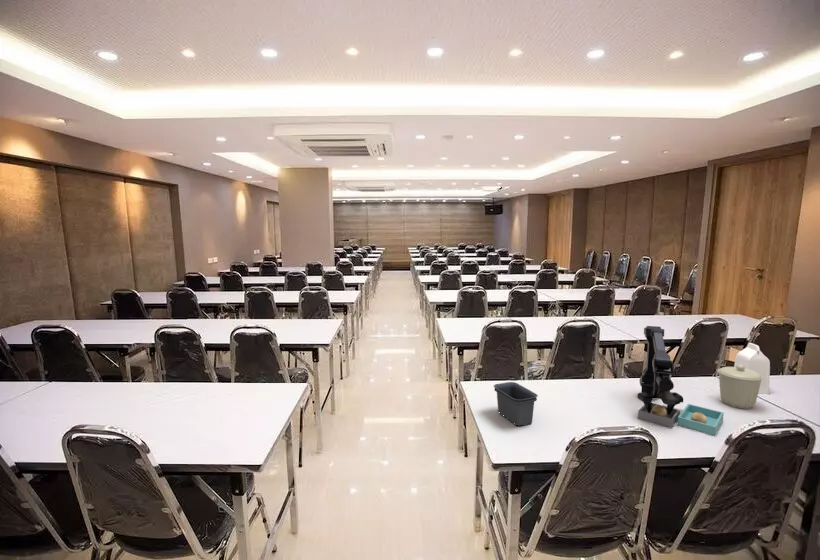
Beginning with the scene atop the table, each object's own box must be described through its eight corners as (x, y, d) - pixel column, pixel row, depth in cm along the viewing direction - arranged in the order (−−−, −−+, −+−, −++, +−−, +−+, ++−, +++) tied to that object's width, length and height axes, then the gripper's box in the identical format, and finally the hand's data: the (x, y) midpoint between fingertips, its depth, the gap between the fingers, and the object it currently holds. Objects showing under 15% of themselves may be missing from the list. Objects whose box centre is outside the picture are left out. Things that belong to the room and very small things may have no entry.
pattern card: (659, 409, 200) (659, 408, 200) (662, 405, 205) (662, 404, 205) (680, 415, 194) (680, 413, 194) (683, 411, 198) (683, 409, 198)
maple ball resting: (688, 425, 183) (689, 413, 182) (691, 421, 187) (692, 408, 186) (704, 430, 179) (705, 417, 178) (707, 425, 183) (708, 412, 182)
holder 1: (637, 418, 191) (638, 410, 191) (646, 409, 201) (647, 401, 200) (671, 428, 181) (672, 419, 181) (679, 418, 191) (680, 410, 190)
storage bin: (490, 411, 201) (490, 384, 199) (516, 406, 206) (516, 379, 205) (516, 430, 181) (516, 400, 180) (543, 424, 187) (544, 395, 185)
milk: (731, 385, 230) (735, 341, 227) (753, 385, 229) (757, 341, 225) (745, 393, 218) (749, 347, 215) (769, 394, 217) (773, 347, 214)
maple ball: (649, 417, 191) (650, 405, 190) (653, 413, 195) (654, 401, 195) (664, 421, 187) (665, 409, 186) (667, 417, 191) (668, 405, 190)
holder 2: (677, 425, 184) (677, 417, 184) (687, 411, 198) (688, 403, 197) (714, 436, 174) (715, 427, 174) (723, 420, 188) (723, 412, 187)
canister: (708, 396, 216) (711, 358, 213) (746, 398, 212) (749, 360, 209) (727, 410, 198) (730, 369, 195) (769, 413, 194) (773, 371, 192)
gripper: (651, 389, 181) (649, 422, 183) (692, 389, 181) (690, 422, 183) (637, 380, 192) (635, 411, 194) (676, 380, 192) (674, 411, 194)
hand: (659, 414), depth 191 cm, fingers open, 9 cm apart
